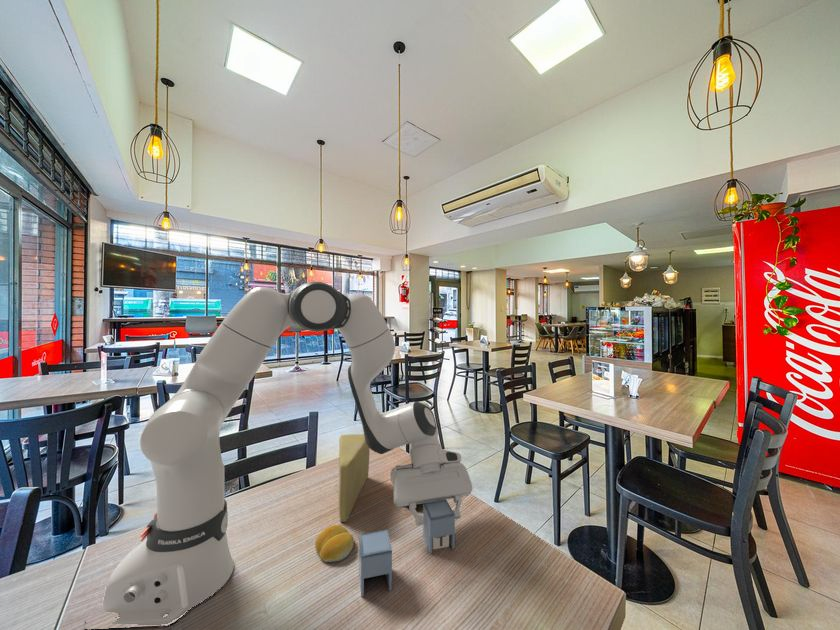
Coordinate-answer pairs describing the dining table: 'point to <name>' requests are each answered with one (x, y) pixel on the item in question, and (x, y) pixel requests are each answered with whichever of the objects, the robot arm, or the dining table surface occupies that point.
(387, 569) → the gray notched block
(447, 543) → the letter cube
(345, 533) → the bread roll
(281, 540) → the dining table surface
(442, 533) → the grey stool
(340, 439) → the cheese
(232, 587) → the dining table surface
